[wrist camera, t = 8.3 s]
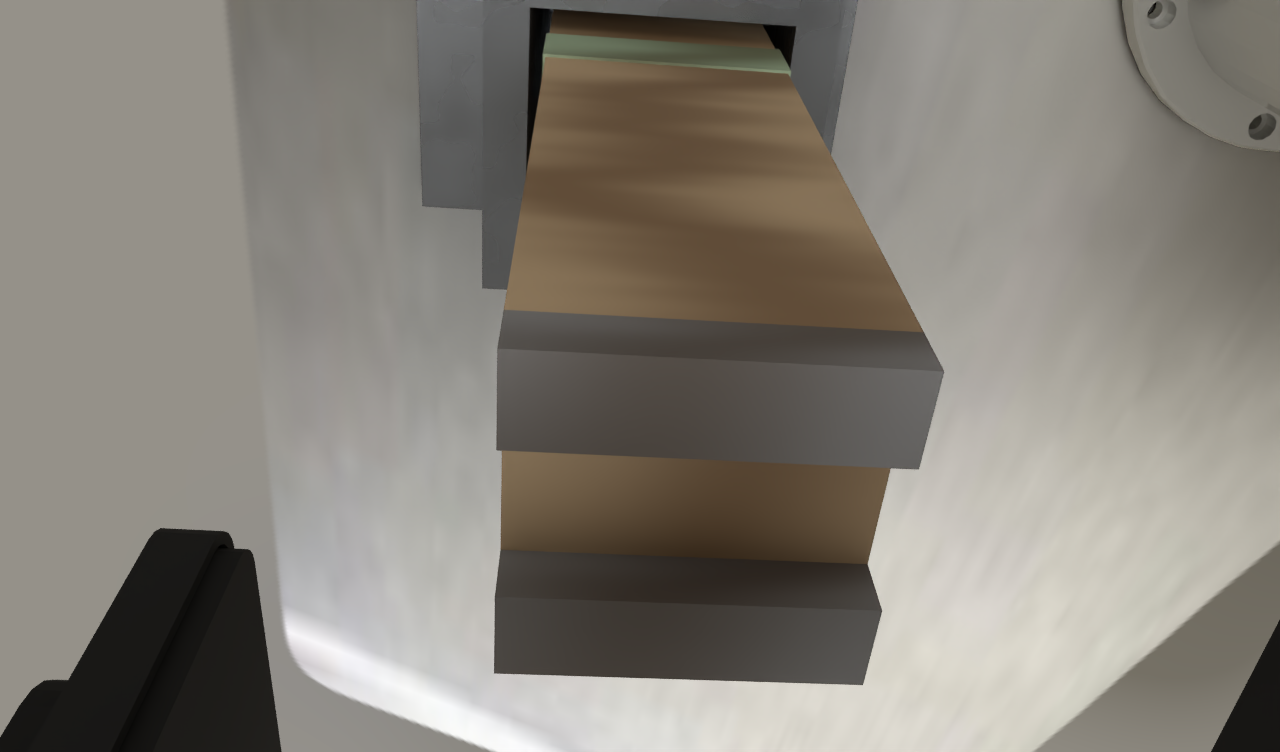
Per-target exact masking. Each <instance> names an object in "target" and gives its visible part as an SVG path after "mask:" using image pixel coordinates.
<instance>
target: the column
mask: <svg viewBox="0 0 1280 752" xmlns="http://www.w3.org/2000/svg"><path fill="white" fill-rule="evenodd" d="M790 76H791V70H790V68H789V66H788V64H787V62H786V61H785V59H784V57H783V55H782V53H781V51H780V49H775V48H774V46H773V44H772V42H771V40H770V38H769V36H768V34H767V33H766V31H765V29H764V27H763V25H762V24H755V23H741V22H727V21H713V20H699V19H685V18H672V17H658V16H644V15H630V14H616V13H602V12H588V11H574V10H560V9H553V15H552V21H551V27H550V33H546V39H545V45H544V50H543V66H542V82H541V88H540V94H539V100H538V106H537V112H536V118H535V124H534V130H533V136H532V142H531V148H530V154H529V161H528V167H527V173H526V179H525V185H524V191H523V197H522V203H521V209H520V215H519V221H518V227H517V233H516V239H515V245H514V252H513V258H512V264H511V270H510V276H509V282H508V288H507V294H506V300H505V306H504V312H503V318H502V324H501V330H500V336H499V343H498V349H497V448H496V450H500V451H502V490H501V551H500V560H499V568H498V576H497V584H496V593H495V646H494V673H500V674H531V675H563V676H595V677H626V678H658V679H690V680H721V681H753V682H785V683H816V684H848V685H863V683H864V679H865V675H866V671H867V667H868V663H869V659H870V656H871V652H872V648H873V644H874V640H875V636H876V632H877V629H878V625H879V621H880V617H881V613H882V609H881V606H880V603H879V599H878V596H877V593H876V590H875V587H874V584H873V580H872V577H871V574H870V571H869V568H868V560H869V555H870V551H871V547H872V543H873V539H874V535H875V531H876V527H877V522H878V518H879V514H880V510H881V506H882V502H883V498H884V494H885V490H886V485H887V481H888V477H889V473H890V469H891V468H899V469H919V467H920V463H921V459H922V455H923V451H924V447H925V444H926V440H927V436H928V432H929V428H930V424H931V420H932V417H933V413H934V409H935V405H936V401H937V397H938V393H939V390H940V386H941V382H942V378H943V374H944V370H943V368H942V366H941V364H940V362H939V361H938V359H937V357H936V355H935V353H934V351H933V349H932V347H931V345H930V343H929V341H928V340H927V338H926V336H925V334H924V332H923V330H922V328H921V326H920V324H919V322H918V320H917V319H916V317H915V315H914V313H913V311H912V309H911V307H910V305H909V303H908V301H907V299H906V298H905V296H904V294H903V292H902V290H901V288H900V286H899V284H898V282H897V280H896V279H895V277H894V275H893V273H892V271H891V269H890V267H889V265H888V263H887V261H886V259H885V258H884V256H883V254H882V252H881V250H880V248H879V246H878V244H877V242H876V240H875V238H874V237H873V235H872V233H871V231H870V229H869V227H868V225H867V223H866V221H865V219H864V218H863V216H862V214H861V212H860V210H859V208H858V206H857V204H856V202H855V200H854V198H853V197H852V195H851V193H850V191H849V189H848V187H847V185H846V183H845V181H844V179H843V177H842V176H841V174H840V172H839V170H838V168H837V166H836V164H835V162H834V160H833V158H832V156H831V155H830V153H829V151H828V149H827V147H826V145H825V143H824V141H823V139H822V137H821V136H820V134H819V132H818V130H817V128H816V126H815V124H814V122H813V120H812V118H811V116H810V115H809V113H808V111H807V109H806V107H805V105H804V103H803V101H802V99H801V97H800V95H799V94H798V92H797V90H796V88H795V86H794V84H793V82H792V80H791V78H790Z"/></svg>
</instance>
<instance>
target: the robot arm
mask: <svg viewBox="0 0 1280 752" xmlns="http://www.w3.org/2000/svg"><path fill="white" fill-rule="evenodd" d="M1154 3H1156V8H1155V10H1154V11H1153V13H1151V14H1149V15H1147V14H1148V11H1149V9H1150V8H1151V6H1152V5H1153V4H1154ZM1122 9H1123V15H1124V21H1125V27H1126V33H1127V39H1128V44H1129V46H1130V49H1131V51H1132V53H1133V56H1134V58H1135V61H1136V63H1137V66H1138V68H1139V71H1140V73H1141V75H1142V76H1143V78H1144V79H1145V81H1146V82H1147V83H1148V85H1149V86H1150V87H1151V89H1152V90H1153V92H1154V93H1155V94H1156V96H1157V97H1158V98H1159V100H1160V101H1161V102H1162V103H1164V104H1165V105H1166V106H1167V107H1168V108H1170V109H1171V110H1172V111H1173V112H1174V113H1175V114H1177V115H1178V116H1179V117H1180V118H1181V119H1183V120H1184V121H1185V122H1187V123H1189V124H1190V125H1192V126H1193V127H1195V128H1197V129H1198V130H1200V131H1202V132H1203V133H1205V134H1206V135H1208V136H1209V137H1212V138H1215V139H1218V140H1221V141H1223V142H1226V143H1229V144H1232V145H1235V146H1238V147H1240V148H1248V149H1255V150H1263V151H1271V152H1280V0H1122ZM0 752H281V746H280V738H279V731H278V724H277V717H276V710H275V702H274V696H273V689H272V682H271V674H270V667H269V660H268V653H267V646H266V639H265V632H264V625H263V617H262V611H261V603H260V596H259V590H258V582H257V575H256V568H255V561H254V557H253V554H252V552H251V551H250V550H248V549H234V545H233V541H232V538H231V536H230V535H229V533H227V532H224V531H206V530H186V529H165V528H160V529H159V530H157V531H155V532H154V533H153V535H152V536H151V537H150V538H149V540H148V542H147V543H146V545H145V547H144V549H143V550H142V552H141V554H140V556H139V557H138V559H137V561H136V563H135V564H134V566H133V568H132V570H131V571H130V573H129V575H128V577H127V578H126V580H125V582H124V584H123V586H122V587H121V589H120V591H119V592H118V594H117V596H116V598H115V599H114V601H113V603H112V605H111V607H110V608H109V610H108V612H107V613H106V615H105V617H104V619H103V620H102V622H101V624H100V626H99V627H98V629H97V631H96V633H95V634H94V636H93V638H92V640H91V641H90V643H89V645H88V647H87V648H86V650H85V652H84V654H83V655H82V657H81V659H80V661H79V662H78V664H77V666H76V667H75V669H74V671H73V673H72V674H71V676H70V678H69V680H46V681H43V682H42V683H40V684H39V685H37V686H36V687H35V688H33V689H32V690H31V691H30V693H29V694H28V695H27V697H26V698H25V699H24V700H23V702H22V703H21V705H20V706H19V707H18V709H17V711H16V712H15V714H14V716H13V717H12V719H11V721H10V722H9V724H8V725H7V727H6V729H5V730H4V732H3V734H2V735H1V737H0ZM1211 752H1280V620H1279V622H1278V624H1277V626H1276V628H1275V630H1274V632H1273V634H1272V636H1271V638H1270V640H1269V642H1268V644H1267V645H1266V647H1265V649H1264V651H1263V653H1262V655H1261V657H1260V659H1259V661H1258V663H1257V665H1256V666H1255V669H1254V671H1253V672H1252V674H1251V676H1250V678H1249V680H1248V682H1247V684H1246V686H1245V688H1244V690H1243V691H1242V693H1241V696H1240V697H1239V699H1238V701H1237V703H1236V705H1235V707H1234V709H1233V711H1232V713H1231V714H1230V716H1229V719H1228V720H1227V722H1226V724H1225V726H1224V728H1223V730H1222V732H1221V734H1220V736H1219V738H1218V740H1217V741H1216V743H1215V745H1214V747H1213V749H1212V751H1211Z"/></svg>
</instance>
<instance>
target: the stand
mask: <svg viewBox="0 0 1280 752" xmlns="http://www.w3.org/2000/svg"><path fill="white" fill-rule="evenodd" d="M857 2H858V0H417V33H418V68H419V102H420V137H421V171H422V206H426V207H443V208H460V209H476V210H483V225H482V288H487V289H505V290H507V288H508V282H509V276H510V270H511V264H512V258H513V252H514V245H515V239H516V233H517V227H518V221H519V215H520V209H521V203H522V197H523V191H524V185H525V179H526V173H527V167H528V161H529V154H530V148H531V142H532V136H533V130H534V124H535V118H536V112H537V106H538V100H539V94H540V88H541V82H542V66H543V50H544V45H545V39H546V33H550V27H551V21H552V15H553V9H560V10H574V11H588V12H602V13H616V14H630V15H644V16H658V17H672V18H685V19H699V20H713V21H727V22H741V23H755V24H762V25H763V27H764V29H765V31H766V33H767V34H768V36H769V38H770V40H771V42H772V44H773V46H774V48H775V49H780V51H781V53H782V55H783V57H784V59H785V61H786V62H787V64H788V66H789V68H790V70H791V76H790V78H791V80H792V82H793V84H794V86H795V88H796V90H797V92H798V94H799V95H800V97H801V99H802V101H803V103H804V105H805V107H806V109H807V111H808V113H809V115H810V116H811V118H812V120H813V122H814V124H815V126H816V128H817V130H818V132H819V134H820V136H821V137H822V139H823V141H824V143H825V145H826V147H827V149H828V151H829V153H830V155H831V150H832V145H833V139H834V133H835V128H836V122H837V116H838V110H839V105H840V99H841V93H842V88H843V82H844V76H845V70H846V65H847V59H848V53H849V48H850V42H851V36H852V30H853V25H854V19H855V13H856V8H857Z"/></svg>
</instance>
